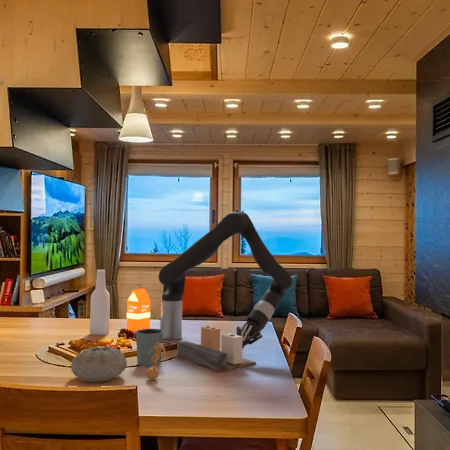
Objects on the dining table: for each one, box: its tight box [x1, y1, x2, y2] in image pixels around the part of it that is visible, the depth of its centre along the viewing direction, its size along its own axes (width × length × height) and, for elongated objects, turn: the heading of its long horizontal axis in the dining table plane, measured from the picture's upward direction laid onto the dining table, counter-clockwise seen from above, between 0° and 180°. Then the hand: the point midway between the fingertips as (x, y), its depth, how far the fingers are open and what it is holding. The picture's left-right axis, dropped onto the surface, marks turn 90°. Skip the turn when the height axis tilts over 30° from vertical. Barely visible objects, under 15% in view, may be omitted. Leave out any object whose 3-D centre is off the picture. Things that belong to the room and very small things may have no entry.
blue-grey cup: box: [135, 328, 164, 368], centre depth 179 cm, size 10×10×12 cm
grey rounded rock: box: [70, 346, 128, 383], centre depth 160 cm, size 18×18×10 cm
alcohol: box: [89, 269, 111, 336], centre depth 229 cm, size 9×9×30 cm
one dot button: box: [220, 333, 243, 364], centre depth 179 cm, size 4×7×10 cm, turn 40°
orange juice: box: [126, 288, 151, 333], centre depth 241 cm, size 8×9×20 cm
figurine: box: [145, 342, 167, 381], centre depth 160 cm, size 8×6×12 cm
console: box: [175, 340, 257, 374], centre depth 184 cm, size 18×26×6 cm
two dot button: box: [200, 325, 221, 351], centre depth 193 cm, size 4×7×10 cm, turn 40°
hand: (236, 350), depth 181 cm, fingers closed
